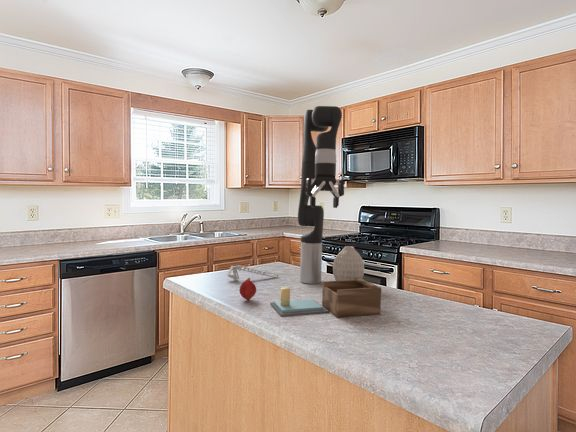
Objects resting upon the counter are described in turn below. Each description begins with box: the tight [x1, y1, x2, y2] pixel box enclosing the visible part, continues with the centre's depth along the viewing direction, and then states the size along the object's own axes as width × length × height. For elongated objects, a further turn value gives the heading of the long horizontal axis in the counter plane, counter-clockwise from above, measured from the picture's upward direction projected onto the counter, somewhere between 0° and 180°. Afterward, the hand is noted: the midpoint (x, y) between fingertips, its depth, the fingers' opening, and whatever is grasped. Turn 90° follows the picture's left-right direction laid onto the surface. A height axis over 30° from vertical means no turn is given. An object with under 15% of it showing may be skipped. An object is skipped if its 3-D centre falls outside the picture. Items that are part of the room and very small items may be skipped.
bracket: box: [226, 264, 279, 282], centre depth 163 cm, size 3×21×10 cm, turn 112°
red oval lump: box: [239, 277, 257, 301], centre depth 130 cm, size 6×6×8 cm
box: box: [321, 277, 382, 319], centre depth 121 cm, size 12×15×9 cm
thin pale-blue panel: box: [273, 286, 323, 313], centre depth 122 cm, size 10×14×6 cm
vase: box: [332, 245, 365, 281], centre depth 152 cm, size 13×13×17 cm
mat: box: [269, 299, 330, 317], centre depth 122 cm, size 13×16×1 cm
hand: (324, 207), depth 133 cm, fingers open, 8 cm apart
